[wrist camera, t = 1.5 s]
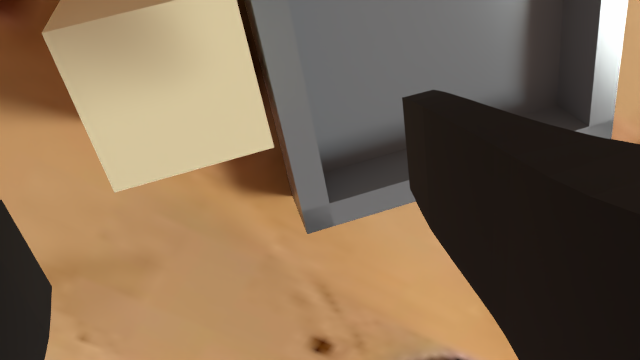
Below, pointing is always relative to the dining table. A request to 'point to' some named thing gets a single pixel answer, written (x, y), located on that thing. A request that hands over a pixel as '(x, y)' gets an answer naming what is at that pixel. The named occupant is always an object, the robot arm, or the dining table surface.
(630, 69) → the dining table surface
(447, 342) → the dining table surface
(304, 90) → the slate tray
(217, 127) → the cheese cube
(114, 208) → the dining table surface
